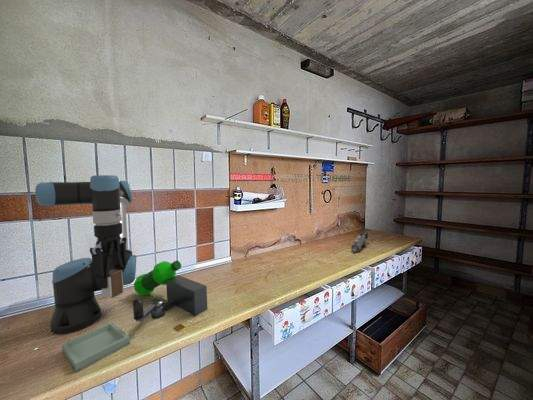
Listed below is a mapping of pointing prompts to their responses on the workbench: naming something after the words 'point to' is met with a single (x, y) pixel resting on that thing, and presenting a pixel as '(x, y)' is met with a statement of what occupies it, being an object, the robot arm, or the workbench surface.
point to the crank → (138, 308)
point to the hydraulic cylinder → (360, 241)
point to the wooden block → (116, 282)
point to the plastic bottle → (156, 277)
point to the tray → (94, 346)
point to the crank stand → (183, 298)
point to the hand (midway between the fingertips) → (113, 292)
